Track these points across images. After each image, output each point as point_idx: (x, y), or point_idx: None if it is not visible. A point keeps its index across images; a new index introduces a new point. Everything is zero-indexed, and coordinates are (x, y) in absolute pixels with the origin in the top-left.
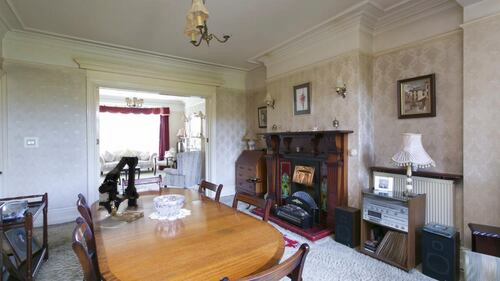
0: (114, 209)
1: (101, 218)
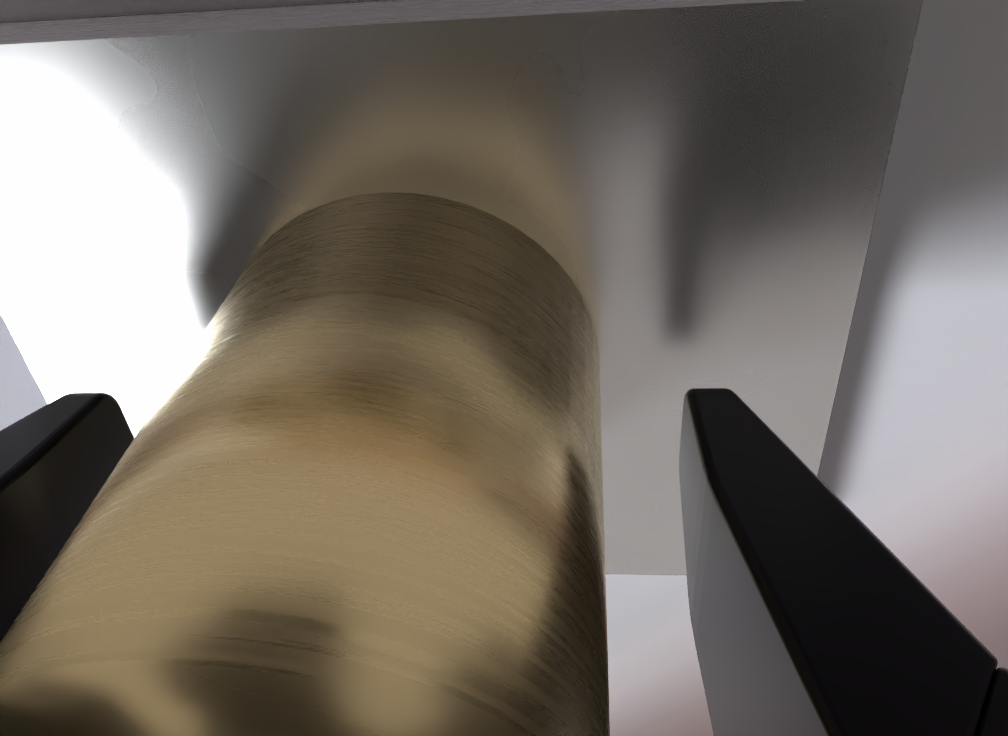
0: (414, 486)
1: (1000, 494)
